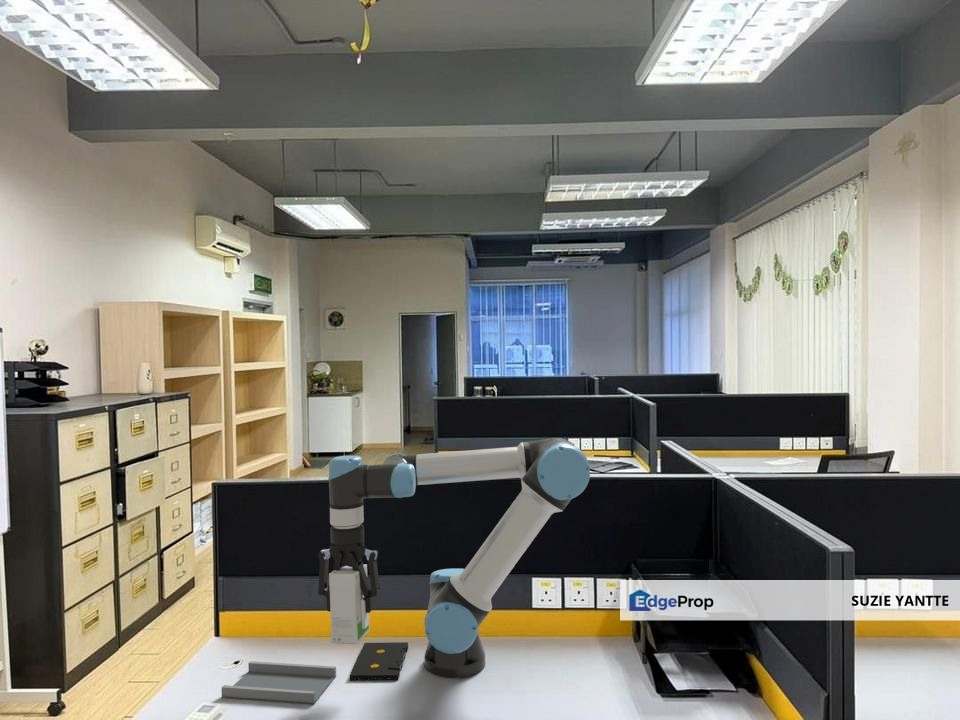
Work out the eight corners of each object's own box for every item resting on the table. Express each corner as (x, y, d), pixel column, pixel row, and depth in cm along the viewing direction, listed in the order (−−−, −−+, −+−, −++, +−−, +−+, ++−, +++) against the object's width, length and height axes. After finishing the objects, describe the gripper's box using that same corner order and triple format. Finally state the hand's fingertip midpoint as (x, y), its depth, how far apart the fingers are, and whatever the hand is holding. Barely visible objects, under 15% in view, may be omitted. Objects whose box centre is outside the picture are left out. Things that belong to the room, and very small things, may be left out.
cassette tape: (398, 683, 156) (397, 673, 156) (349, 683, 156) (349, 674, 156) (408, 649, 174) (408, 641, 174) (364, 649, 174) (364, 641, 174)
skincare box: (356, 645, 146) (354, 575, 146) (328, 643, 147) (326, 573, 147) (370, 630, 154) (368, 563, 154) (343, 628, 155) (342, 562, 155)
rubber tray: (336, 676, 158) (336, 666, 158) (314, 704, 146) (313, 693, 146) (250, 670, 162) (250, 661, 162) (221, 697, 149) (221, 687, 149)
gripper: (393, 521, 153) (396, 620, 153) (313, 520, 156) (316, 617, 156) (383, 529, 145) (386, 634, 145) (299, 528, 148) (302, 631, 148)
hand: (350, 625), depth 151 cm, fingers closed on skincare box, 6 cm apart
